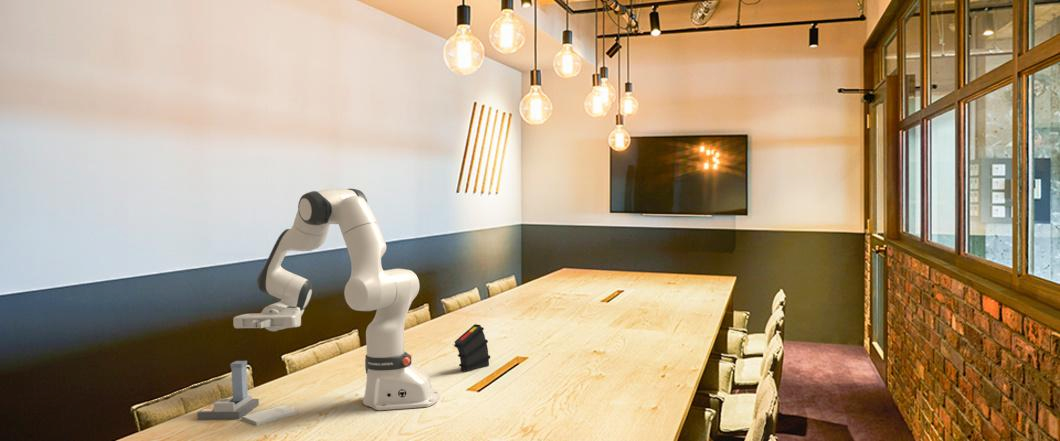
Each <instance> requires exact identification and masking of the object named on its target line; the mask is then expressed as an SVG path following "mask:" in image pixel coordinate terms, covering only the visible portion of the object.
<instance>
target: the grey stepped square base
mask: <svg viewBox="0 0 1060 441" xmlns="http://www.w3.org/2000/svg"><path fill="white" fill-rule="evenodd" d="M259 400H260V399H259V398H253V395H248V397H246V398H245V399H243V400H242V401H239V402H233V396H231V397H230V398H219V399H217V400H216V401H214V402H212V403H210V404H208V405H206V407H204V408H202V409H200V410H199V411H197V413H196V414H197V420H241V419H242V416H246V415H248V414H249V413H250V412H252V411H253V410H254V409H255V408H257V407H259V405H260V403H259ZM248 412H249V413H248Z"/></svg>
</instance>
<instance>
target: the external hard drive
mask: <svg viewBox="0 0 1060 441" xmlns="http://www.w3.org/2000/svg"><path fill="white" fill-rule="evenodd" d="M297 414H299V410H297V409H296V408H293V407H290V406H287V405H284V404H283V405H280V406H279V405H278V406H275V407H272V408H268V409H265V410H261V411H257V412H254V413H250V414H246V415H244V416H242V417H241V420H242V421H243V420H244V422H246V421H247V422H246V423H249V424H252V425H254V426H256V427H257V426H260V425H263V424H268V423H270V422H274V421H277V420H280V419H283V418H286V417H290V416H293V415H297Z"/></svg>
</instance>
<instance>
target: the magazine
mask: <svg viewBox="0 0 1060 441" xmlns="http://www.w3.org/2000/svg"><path fill="white" fill-rule="evenodd" d="M454 343H455V344H453V346H454V348H456V349H457V352H458V354H457V357H459V359H460V363H459V364H458V366H459V367H460V371H463V372H465V373H467V372H471V371H473V370H477V369H481V368H486V367H489V366H490V359H491V355H489V348H488V343H489V340H488V339H486V335H485V333H484V326H483V327H482V325H481V324H477V323H475V324H473V325H472V326H471V327H470V328H469V329H467V330H466V331H465V332H464V333H463V334H462V335H460V336H459V337H458V338H457V339H456V340H455V341H454Z"/></svg>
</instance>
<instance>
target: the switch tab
mask: <svg viewBox="0 0 1060 441" xmlns="http://www.w3.org/2000/svg"><path fill="white" fill-rule="evenodd" d="M247 365H248V360H235V361H233V362H231V363H230V365H229V366H230V370H231V387H232V388H231V389H232V390H231V392H232V397H233V402H239V401H242V400H243V399H245V398H246V397H248V396H249V393H248V376H247V375H248V374H247V369H248V368H247Z"/></svg>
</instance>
